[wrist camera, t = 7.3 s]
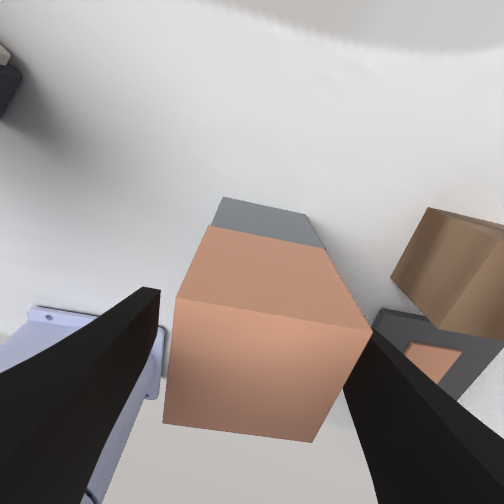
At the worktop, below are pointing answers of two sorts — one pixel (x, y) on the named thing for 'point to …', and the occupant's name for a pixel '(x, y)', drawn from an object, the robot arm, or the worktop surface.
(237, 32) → the worktop surface
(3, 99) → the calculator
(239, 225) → the slate block
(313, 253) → the terracotta block
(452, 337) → the board
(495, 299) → the walnut block
